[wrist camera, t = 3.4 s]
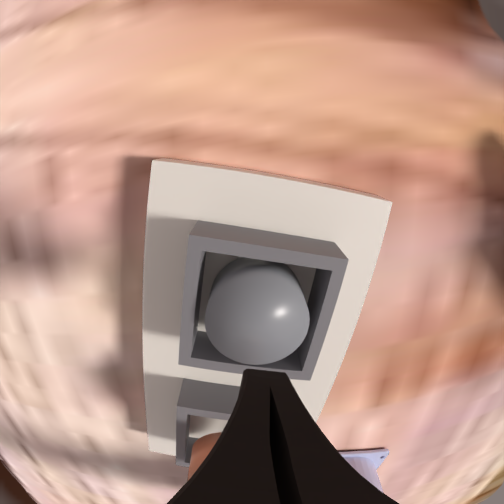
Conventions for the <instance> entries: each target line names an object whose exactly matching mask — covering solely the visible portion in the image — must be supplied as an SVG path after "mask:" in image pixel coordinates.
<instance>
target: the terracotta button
mask: <svg viewBox="0 0 504 504" xmlns="http://www.w3.org/2000/svg"><path fill="white" fill-rule="evenodd" d="M221 433H222V432H218V433H212V434H208V435H205V436H202V437H201V438H199V439H198V440H196V441H195V443H194V444H193V447H192V453H191V460H190V466H189V473H188V480H189V479H190V478H191V477H192V475H193V474H194V473H195V472H196V470H197V469H198V468H199V466H200V465H201V464H202V462H203V461H204V460H205V458H206V457H207V456H208V454H209V453H210V451H211V450H212V448H213V446H214V445H215V443H216V442H217V440H218V438H219V437H220V435H221Z"/></svg>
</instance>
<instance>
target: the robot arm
mask: <svg viewBox="0 0 504 504" xmlns="http://www.w3.org/2000/svg"><path fill="white" fill-rule="evenodd" d="M388 454H389V450H388V449H378V450H366V451H350V452H338V451H337V450H336V449H335V448H334V446H333V445H332V444H331V443H330V441H329V440H328V439H327V438H326V436H325V435H324V434H323V432H322V431H321V430H320V428H319V427H318V425H317V424H316V422H315V421H314V419H313V418H312V416H311V415H310V413H309V412H308V410H307V409H306V407H305V406H304V404H303V402H302V401H301V399H300V397H299V395H298V394H297V392H296V390H295V388H294V387H293V385H292V383H291V381H290V379H289V377H288V375H287V374H286V373H285V372H276V371H266V370H257V369H248V368H247V369H246V370H244V371H243V375H242V380H241V385H240V390H239V395H238V399H237V402H236V404H235V407H234V409H233V412H232V414H231V416H230V418H229V420H228V422H227V424H226V426H225V428H224V429H223V431H222V433H221V435H220V437H219V438H218V440H217V442H216V443H215V445H214V446H213V448H212V450H211V451H210V453H209V454H208V456H207V457H206V458H205V460H204V461H203V462H202V464H201V465H200V466H199V468H198V469H197V470H196V472H195V473H194V474H193V475H192V477H191V478H190V479H189V480H188V481H187V483H186V484H185V485H184V486H183V487H182V488H181V489H180V490H179V491H178V492H177V493H176V495H175V496H174V497H173V498H172V499H171V500H170V501H169V502H168V503H167V504H399V503H397V502H396V501H394V500H393V499H391V498H390V497H388V496H387V495H385V494H384V492H383V489H382V486H381V483H380V480H379V477H378V474H377V468H378V467H379V466H380V465H381V463H382V462H383V461H384V459H385V458H386V457H387V455H388Z"/></svg>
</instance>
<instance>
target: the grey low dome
mask: <svg viewBox="0 0 504 504" xmlns="http://www.w3.org/2000/svg"><path fill="white" fill-rule="evenodd" d="M309 322H310V317H309V311H308V307H307V304H306V301H305V298H304V295H303V292H302V289H301V286H300V283H299V281H298V279H297V277H296V275H295V274H294V272H293V271H292V270H291V269H290V268H289V267H288V266H287V265H285V264H284V263H279V262H272V261H265V260H259V259H252V258H246V257H241V258H238V259H236V260H234V261H232V262H230V263H229V264H227V265H226V266H225V267H224V268H223V269H222V270H221V271H220V272H219V273H218V274H217V276H216V278H215V279H214V282H213V284H212V288H211V292H210V296H209V300H208V304H207V308H206V313H205V329H206V333H207V335H208V338H209V340H210V341H211V343H212V344H213V345H214V347H215V348H216V349H217V350H218V351H219V352H220V353H222V354H223V355H224V356H226V357H228V358H230V359H232V360H234V361H237V362H240V363H244V364H251V365H262V364H269V363H273V362H276V361H279V360H281V359H283V358H285V357H287V356H288V355H290V354H291V353H293V352H294V351H295V350H296V349H297V348H298V347H299V346H300V345H301V343H302V342H303V340H304V339H305V337H306V335H307V332H308V328H309Z"/></svg>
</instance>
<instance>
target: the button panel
mask: <svg viewBox="0 0 504 504" xmlns="http://www.w3.org/2000/svg"><path fill="white" fill-rule="evenodd" d="M391 206H392V202H391V201H389V200H387V199H385V198H382V197H380V196H378V195H374V194H370V193H365V192H361V191H357V190H352V189H348V188H343V187H339V186H334V185H329V184H324V183H319V182H315V181H310V180H304V179H299V178H294V177H289V176H283V175H278V174H272V173H266V172H260V171H254V170H248V169H242V168H235V167H229V166H222V165H215V164H208V163H200V162H193V161H185V160H177V159H168V158H160V159H155V160H152V166H151V174H150V184H149V194H148V204H147V216H146V230H145V246H144V266H143V301H142V341H143V375H144V395H145V410H146V423H147V434H148V444H149V451H153V452H157V453H162V454H167V455H172V456H176V465H178V466H184V467H189V466H190V460H191V453H192V447H193V444H194V443H195V441H196V440H198V439H199V438H201V437H202V436H205V435H208V434H212V433H218V432H222V431H223V429H224V428H225V426H226V424H227V422H228V420H229V418H230V416H231V414H232V412H233V409H234V407H235V404H236V402H237V399H238V395H239V390H240V385H241V380H242V375H243V371H244V370H246V369H247V368H248V369H257V370H266V371H276V372H285V373H286V374H287V375H288V377H289V379H290V381H291V383H292V385H293V387H294V388H295V390H296V392H297V394H298V395H299V397H300V399H301V401H302V402H303V404H304V406H305V407H306V409H307V410H308V412H309V413H310V415H311V416H312V418H313V419H314V421H315V422H317V419H318V417H319V415H320V413H321V411H322V409H323V406H324V404H325V402H326V399H327V397H328V395H329V393H330V390H331V388H332V386H333V383H334V381H335V378H336V376H337V373H338V371H339V369H340V366H341V364H342V361H343V358H344V356H345V353H346V351H347V348H348V346H349V343H350V340H351V337H352V335H353V332H354V329H355V326H356V324H357V321H358V318H359V315H360V312H361V309H362V306H363V303H364V300H365V297H366V294H367V291H368V288H369V285H370V282H371V279H372V275H373V272H374V269H375V266H376V262H377V259H378V255H379V252H380V248H381V245H382V241H383V237H384V234H385V230H386V226H387V222H388V218H389V214H390V210H391ZM241 257H246V258H252V259H259V260H265V261H272V262H279V263H284V264H285V265H287V266H288V267H289V268H290V269H291V270H292V271H293V272H294V274H295V275H296V277H297V279H298V281H299V283H300V286H301V289H302V292H303V295H304V298H305V301H306V304H307V307H308V311H309V317H310V322H309V328H308V332H307V335H306V337H305V339H304V340H303V342H302V343H301V345H300V346H299V347H298V348H297V349H296V350H295V351H294V352H293V353H291V354H290V355H288V356H287V357H285V358H283V359H281V360H279V361H276V362H273V363H269V364H262V365H251V364H244V363H240V362H237V361H234V360H232V359H230V358H228V357H226V356H224V355H223V354H222V353H220V352H219V351H218V350H217V349H216V348H215V347H214V345H213V344H212V343H211V341H210V340H209V338H208V335H207V333H206V329H205V313H206V308H207V304H208V300H209V296H210V292H211V288H212V284H213V282H214V279H215V278H216V276H217V274H218V273H219V272H220V271H221V270H222V269H223V268H224V267H225V266H226V265H227V264H229V263H230V262H232V261H234V260H236V259H238V258H241Z"/></svg>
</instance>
